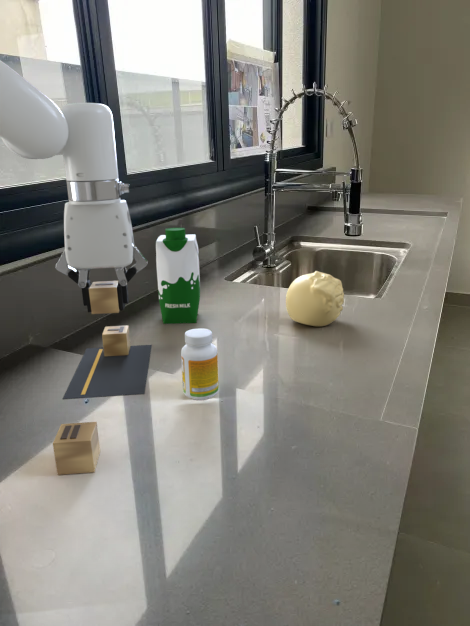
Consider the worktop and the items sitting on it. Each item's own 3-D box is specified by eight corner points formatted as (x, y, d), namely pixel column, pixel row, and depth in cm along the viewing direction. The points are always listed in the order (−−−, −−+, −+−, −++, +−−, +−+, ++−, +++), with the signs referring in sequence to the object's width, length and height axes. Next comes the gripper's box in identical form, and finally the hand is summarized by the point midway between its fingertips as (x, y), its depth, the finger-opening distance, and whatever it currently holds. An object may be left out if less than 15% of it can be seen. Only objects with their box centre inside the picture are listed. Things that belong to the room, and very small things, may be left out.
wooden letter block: (91, 314, 78) (88, 287, 77) (96, 306, 82) (93, 281, 81) (118, 312, 78) (116, 286, 77) (121, 304, 82) (119, 279, 81)
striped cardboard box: (57, 475, 57) (52, 442, 55) (65, 454, 61) (60, 423, 59) (94, 472, 57) (90, 439, 56) (100, 451, 61) (96, 420, 60)
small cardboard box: (104, 356, 88) (101, 333, 87) (107, 347, 92) (105, 325, 91) (128, 355, 89) (126, 332, 87) (130, 346, 93) (128, 324, 91)
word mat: (62, 401, 73) (62, 398, 73) (86, 350, 92) (86, 347, 92) (144, 396, 74) (144, 393, 74) (151, 346, 93) (151, 344, 93)
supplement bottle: (226, 391, 75) (224, 331, 72) (200, 404, 72) (197, 342, 69) (201, 381, 79) (199, 323, 76) (175, 393, 75) (172, 333, 72)
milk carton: (158, 327, 104) (151, 231, 97) (163, 313, 112) (157, 224, 106) (200, 325, 104) (196, 230, 98) (202, 312, 112) (198, 223, 106)
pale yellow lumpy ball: (337, 334, 98) (339, 281, 94) (278, 327, 102) (279, 276, 99) (347, 316, 108) (350, 268, 104) (293, 311, 112) (294, 264, 109)
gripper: (152, 189, 79) (160, 299, 84) (43, 192, 77) (59, 304, 83) (149, 192, 71) (158, 313, 77) (29, 196, 70) (47, 319, 76)
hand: (106, 307), depth 80 cm, fingers closed on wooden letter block, 4 cm apart
